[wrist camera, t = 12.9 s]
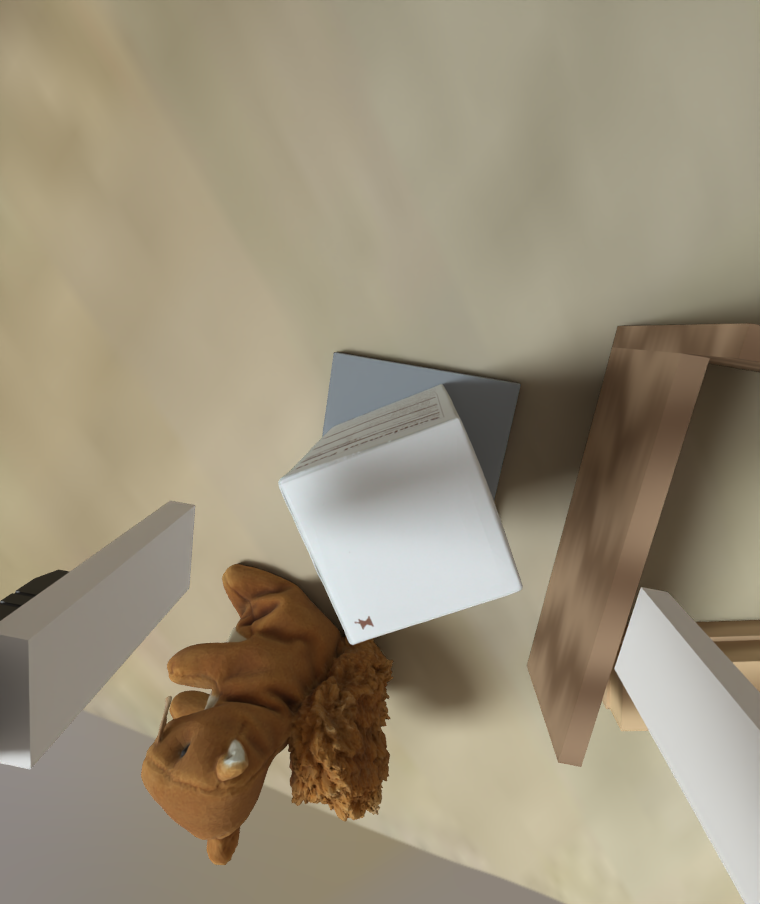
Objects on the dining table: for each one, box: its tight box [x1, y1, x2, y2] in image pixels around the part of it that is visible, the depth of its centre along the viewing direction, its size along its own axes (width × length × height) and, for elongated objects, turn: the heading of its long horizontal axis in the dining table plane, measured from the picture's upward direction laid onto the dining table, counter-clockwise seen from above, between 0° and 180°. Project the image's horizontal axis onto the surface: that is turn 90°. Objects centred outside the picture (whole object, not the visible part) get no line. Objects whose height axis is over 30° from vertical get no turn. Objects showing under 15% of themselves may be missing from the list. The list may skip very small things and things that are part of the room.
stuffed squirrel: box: [141, 564, 393, 865], centre depth 29 cm, size 10×14×13 cm
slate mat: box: [322, 352, 521, 500], centre depth 31 cm, size 11×11×1 cm
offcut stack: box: [602, 620, 760, 731], centre depth 32 cm, size 5×18×4 cm, turn 95°
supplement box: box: [278, 384, 522, 645], centre depth 25 cm, size 7×7×13 cm
